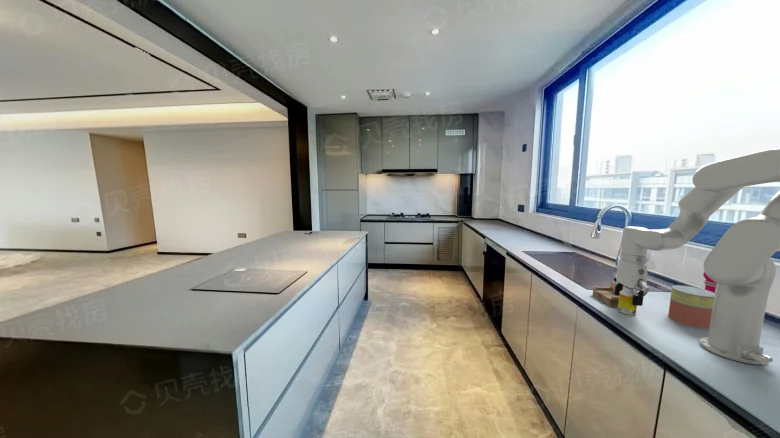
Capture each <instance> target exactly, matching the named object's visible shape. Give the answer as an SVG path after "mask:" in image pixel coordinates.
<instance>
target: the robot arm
mask: <svg viewBox="0 0 780 438" xmlns="http://www.w3.org/2000/svg"><path fill="white" fill-rule="evenodd" d="M691 181H692V183H693V185H694V186H693V187H692V188H691V189H690V190H689V191H688V192H687V193H685V195H684V196H682V198H681V199H680V200H679V201H678V203H677V204H678V207H679V210H680V212H679V214H678V215H677V217H676V219H674V221H673V222H672V223H670V224H669V225H668V226H667V227H666V228H659V229H648V228H647V227H643V226H642V227H641V226H625V227H624V228H623V231H622V239H621V240H622V241H621V248H620V258H619V261H618V265H617V270H616V272H613V282H615V285H616V286H615V293H614V294H615V295H619V294H620V291H622V290H623V286H627V287H629V288H631V289H633V291H634V294H635V295H633V301H632V305H634V306H637V307H642V306H643V304H644V297H645V296H646V295H647V294H648V293H649V291H650V287H649V286H648V265H647V264H646V263H647V262H646V261H647V257H648V256H647V255H648V250H649V251H656V252H659V251H667V250H676V249H679V248H681V247H683V246H684V245H686V244H687V243H688V242H690V241H691V240H692V239H693V238H694V237H695V236H697V235H698V234H699V233H700V232H701V230H703V228H704V226H706V224H707V222H709V221H708V220H709V219H710V218H711V216H712V215H713V214H715V212H717V211H718V210H719V209H720V208H721V207H722V206H723V205H725V204H726V203H727V202H728V201H729V200H731V199H732V198H733V197H734V196H735V195H736V194H738V192H740V191H741V190H743V188H745V187H749V186H758V185H762V184H769V183H775V182H776V183H780V147H779V148H778V147H776V148H770V149H764V150H761V151H756V152H752V153H748V154H745V155H744V154H743V155H740V156H736V157H731V158H727V159H723V160H719V161H715V162H711V163H707V164H705V165H703V166H701V167H700V168H698V169H697V170H696V171H695V172H694V174H693V176H692V180H691ZM776 252H780V190H779V191H778V192H777V193H776V194H774V195H773V197H771V199H770V200H769V201H768V203H767V204H766V205H765V207H764V208H763V209H762V210H761V211H760V213H759V214H758V215H756V216H755V217H750V218H745V219H742V220H739V221H737V222H735V223H734V224H732V225H731V226H730V227H729V228H728V229H727V230H726V231H725V232H724V233H723V235H722V236H721V238H720V239H719V241H718V242H716V245H715V246H714V247H713V248H712V249H711V251H710V252H709V253H708V255H707V256H706V258H705V259H704V262H703V271H704V272H705V273H706V275H707V276H708V277H709V278H710V279H712V280H713V281H715V282H717V286H716V290H715V295H714V301H713V308H712V314H711V321H710V327H709V329H708V334H707V335H708V336H704V337H701V338H699V345H700V346H701V347H703V348H704V349H706V350H707V351H709V352H711V353H713V354H715V355H718V356H720V357H724V358H726V359H728V360H732V361H736V362H739V363H744V364H747V365H748V364H749V365H762V366H767V365H768V364H769V363H772V362H773V361H774V359H773V357H771V356H768V355H767V354H765V353H763V352H764V347H763V346H760V343H761V336H762V331H763V325H764V321H765V320H764V319H765V314H766V310H767V305H768V300H769V295H770V292H771V289H772V285H773V284H774V280H775V278H776V273H777V269H776V264H775V262H774V261H773V259H772V258H771V257H773V255H774V254H775V253H776Z"/></svg>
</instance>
